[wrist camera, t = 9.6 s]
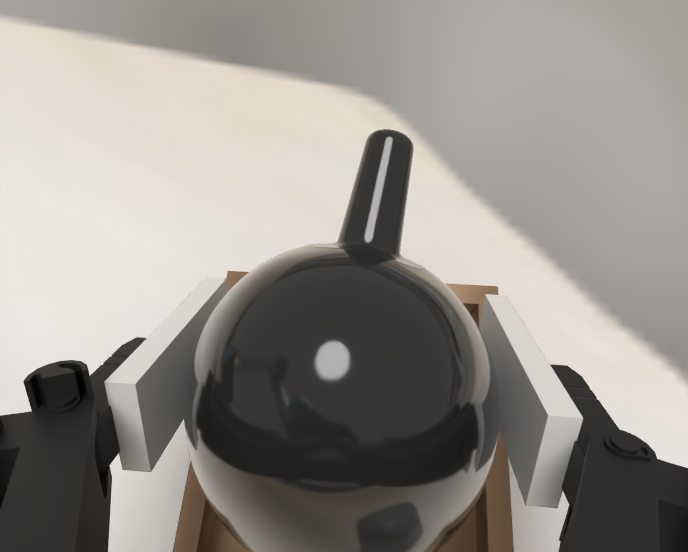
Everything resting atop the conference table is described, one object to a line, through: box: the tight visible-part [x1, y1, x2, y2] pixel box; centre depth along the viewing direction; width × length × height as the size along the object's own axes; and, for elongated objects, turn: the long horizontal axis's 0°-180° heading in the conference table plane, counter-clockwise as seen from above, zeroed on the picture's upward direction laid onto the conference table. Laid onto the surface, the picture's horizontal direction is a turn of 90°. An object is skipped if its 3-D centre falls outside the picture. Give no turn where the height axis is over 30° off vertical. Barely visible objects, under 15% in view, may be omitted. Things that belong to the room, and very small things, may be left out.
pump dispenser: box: [184, 129, 500, 552], centre depth 14 cm, size 10×10×15 cm
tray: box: [173, 271, 514, 552], centre depth 22 cm, size 14×14×3 cm
